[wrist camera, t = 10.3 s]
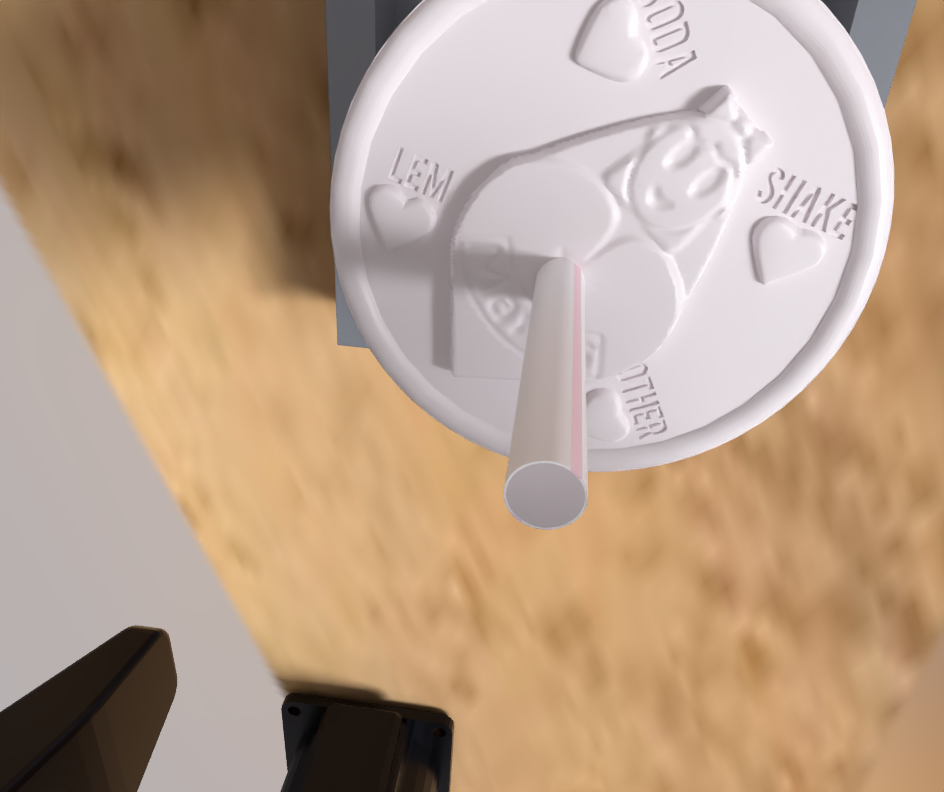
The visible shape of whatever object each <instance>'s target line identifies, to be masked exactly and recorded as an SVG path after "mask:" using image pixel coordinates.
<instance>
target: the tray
mask: <svg viewBox="0 0 944 792" xmlns="http://www.w3.org/2000/svg"><path fill="white" fill-rule="evenodd" d="M422 1H423V0H325V8H326V36H327V64H328V92H329V120H330V148H331V176H332V172H333V166H334V159H335V154H336V150H337V146H338V142H339V138H340V134H341V130H342V127H343V124H344V121H345V118H346V116H347V113H348V110H349V107H350V105H351V102H352V100H353V98H354V96H355V94H356V91H357V89H358V87H359V85H360V83H361V81H362V79H363V77H364V75H365V73H366V72H367V70H368V68H369V67H370V65H371V64H372V62H373V60H374V59H375V57H376V55H377V54H378V52H379V51H380V49H381V48H382V47H383V45H384V44H385V43H386V41H387V40H388V39H389V37H390V36H391V35H392V33H393V32H394V31H395V29H396V28H397V27H398V26H399V25H400V24H401V22H402V21H403V20H404V19H405V18H406V17H407V16H408V15H409V14H410V13H411V12H412V11H413V10H414V8H415V7H416V6H417V5H418V4H419V3H421V2H422ZM821 1H822V2H823V3H824V4H825V5H826V6H827V7H828V9H829V10H830V11H831V12H832V13H833V15H834V16H835V17H836V18H837V20H838V21H839V22H840V23H841V24H842V26H843V27H844V28H845V29H846V31H847V33H848V34H849V36H850V37H851V39H852V40H853V42H854V44H855V45H856V47H857V48H858V50H859V51H860V53H861V55H862V57H863V59H864V61H865V63H866V65H867V67H868V69H869V71H870V73H871V75H872V77H873V79H874V81H875V84H876V87H877V90H878V93H879V96H880V99H881V102H882V104H883V107H884V108H885V104H886V101H887V98H888V94H889V91H890V88H891V84H892V81H893V78H894V74H895V71H896V68H897V64H898V61H899V58H900V54H901V51H902V48H903V44H904V41H905V38H906V34H907V31H908V28H909V24H910V21H911V18H912V14H913V11H914V8H915V4H916V1H917V0H821ZM335 288H336V316H337V344H338V345H343V346H352V347H362V348H369V347H368V345H367V344H366V342H365V340H364V338H363V336H362V335H361V333H360V331H359V329H358V328H357V325H356V323H355V321H354V319H353V316H352V314H351V312H350V310H349V308H348V305H347V302H346V299H345V296H344V293H343V290H342V287H341V284H340V281H339V277H338V272H337V268H336V264H335Z"/></svg>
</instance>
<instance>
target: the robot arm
mask: <svg viewBox="0 0 944 792" xmlns="http://www.w3.org/2000/svg"><path fill="white" fill-rule="evenodd" d="M176 687H177V674H176V669H175V663H174V658H173V653H172V648H171V642H170V638H169V635H168V633H167V632H166V631H165V630H163V629H159V628H152V627H144V626H131V627H128V628H126V629H124V630H123V631H121V632H120V633H118V634H117V635H115V636H114V637H112V638H111V639H109V640H108V641H106V642H105V643H103V644H102V645H100V646H99V647H98V648H96V649H94V650H93V651H91V652H90V653H88V654H87V655H85V656H84V657H82V658H81V659H79V660H78V661H76V662H75V663H73V664H72V665H70V666H69V667H67V668H66V669H64V670H63V671H61V672H60V673H58V674H57V675H55V676H54V677H52V678H51V679H49V680H48V681H46V682H45V683H43V684H42V685H40V686H39V687H37V688H36V689H34V690H33V691H31V692H30V693H28V694H27V695H25V696H24V697H22V698H21V699H19V700H18V701H16V702H15V703H13V704H12V705H11V706H9V707H7V708H6V709H4V710H3V711H1V712H0V792H137V790H138V788H139V785H140V783H141V780H142V778H143V775H144V773H145V770H146V768H147V765H148V762H149V760H150V758H151V755H152V752H153V750H154V747H155V745H156V742H157V740H158V737H159V735H160V732H161V730H162V727H163V725H164V722H165V720H166V717H167V714H168V712H169V710H170V707H171V704H172V702H173V699H174V696H175V693H176ZM281 710H282V720H283V730H284V740H285V750H286V760H287V769H288V773H287V776H286V778H285V781H284V784H283V787H282V789H281V792H450V783H451V767H452V752H453V736H454V722H453V720H452V719H451V718H450V717H448V716H447V715H443V714H438V713H431V712H424V711H417V710H410V709H403V708H396V707H389V706H382V705H375V704H368V703H361V702H355V701H348V700H341V699H334V698H327V697H320V696H313V695H306V694H299V693H291V694H288V695H287V696H286V698H285V700H284V702H283V705H282V709H281Z"/></svg>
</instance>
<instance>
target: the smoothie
mask: <svg viewBox="0 0 944 792" xmlns="http://www.w3.org/2000/svg"><path fill="white" fill-rule="evenodd" d="M893 202H894V163H893V154H892V144H891V137H890V133H889V128H888V124H887V119H886V115H885V110H884V107H883V104H882V102H881V99H880V96H879V93H878V90H877V87H876V84H875V81H874V79H873V77H872V75H871V73H870V71H869V69H868V67H867V65H866V63H865V61H864V59H863V57H862V55H861V53H860V51H859V50H858V48H857V47H856V45H855V44H854V42H853V40H852V39H851V37H850V36H849V34H848V33H847V31H846V29H845V28H844V27H843V26H842V24H841V23H840V22H839V21H838V20H837V18H836V17H835V16H834V15H833V13H832V12H831V11H830V10H829V9H828V7H827V6H826V5H825V4H824V3H823V2H822V1H821V0H423V1H422V2H421V3H419V4H418V5H417V6H416V7H415V8H414V10H413V11H412V12H411V13H410V14H409V15H408V16H407V17H406V18H405V19H404V20H403V21H402V22H401V24H400V25H399V26H398V27H397V28H396V29H395V31H394V32H393V33H392V35H391V36H390V37H389V39H388V40H387V41H386V43H385V44H384V45H383V47H382V48H381V49H380V51H379V52H378V54H377V55H376V57H375V59H374V60H373V62H372V64H371V65H370V67H369V68H368V70H367V72H366V73H365V75H364V77H363V79H362V81H361V83H360V85H359V87H358V89H357V91H356V94H355V96H354V98H353V100H352V102H351V105H350V107H349V110H348V113H347V116H346V118H345V121H344V124H343V127H342V130H341V134H340V138H339V142H338V146H337V150H336V154H335V159H334V166H333V172H332V179H331V192H330V228H331V239H332V246H333V253H334V260H335V264H336V268H337V272H338V277H339V281H340V284H341V287H342V290H343V293H344V296H345V299H346V302H347V305H348V308H349V310H350V312H351V314H352V316H353V319H354V321H355V323H356V325H357V328H358V329H359V331H360V333H361V335H362V336H363V338H364V340H365V342H366V344H367V345H368V347H369V349H370V350H371V352H372V353H373V355H374V356H375V357H376V359H377V360H378V362H379V363H380V365H381V366H382V368H383V369H384V370H385V371H386V372H387V374H388V375H389V376H390V377H391V378H392V380H393V381H394V382H395V383H396V384H397V386H398V387H399V388H400V389H401V390H402V391H403V392H404V393H405V394H406V395H407V396H408V397H409V398H410V399H411V400H412V401H413V402H415V403H416V404H417V405H418V406H419V407H421V408H422V409H423V410H424V411H425V412H427V413H428V414H429V415H430V416H431V417H433V418H434V419H436V420H437V421H438V422H440V423H441V424H443V425H444V426H446V427H447V428H448V429H450V430H452V431H453V432H455V433H457V434H459V435H460V436H462V437H464V438H465V439H467V440H469V441H471V442H473V443H475V444H477V445H479V446H482V447H484V448H486V449H488V450H490V451H493V452H495V453H498V454H501V455H504V456H506V457H509V460H508V466H507V473H506V480H505V486H504V501H505V504H506V507H507V508H508V510H509V511H510V513H511V514H512V515H513V516H514V517H515V518H516V519H517V520H519V521H520V522H521V523H523V524H525V525H527V526H530V527H533V528H537V529H543V530H552V529H558V528H562V527H565V526H567V525H569V524H571V523H573V522H574V521H576V520H577V519H578V518H579V517H580V516H581V515H582V513H583V512H584V510H585V508H586V506H587V501H588V477H587V472H611V471H627V470H634V469H642V468H649V467H654V466H658V465H663V464H667V463H672V462H675V461H679V460H682V459H685V458H688V457H692V456H695V455H698V454H700V453H703V452H705V451H708V450H710V449H713V448H715V447H718V446H720V445H722V444H724V443H726V442H728V441H730V440H732V439H734V438H736V437H738V436H740V435H742V434H743V433H745V432H747V431H748V430H750V429H752V428H753V427H755V426H757V425H758V424H760V423H762V422H763V421H765V420H766V419H767V418H769V417H770V416H771V415H773V414H774V413H776V412H777V411H778V410H780V409H781V408H783V407H784V406H785V405H786V404H787V403H788V402H790V401H791V400H792V399H793V398H794V397H795V396H797V395H798V394H799V393H800V392H801V391H802V390H803V389H804V388H805V387H806V386H807V385H808V384H809V383H810V382H811V381H812V380H813V379H814V378H815V377H816V376H817V375H818V374H819V373H820V372H821V371H822V369H823V368H824V367H825V366H826V365H827V363H828V362H829V361H830V360H831V358H832V357H833V356H834V355H835V354H836V352H837V351H838V350H839V348H840V347H841V345H842V344H843V342H844V341H845V339H846V338H847V336H848V335H849V333H850V332H851V330H852V329H853V327H854V325H855V323H856V322H857V320H858V318H859V316H860V314H861V312H862V311H863V309H864V307H865V305H866V303H867V301H868V298H869V296H870V294H871V291H872V289H873V287H874V284H875V282H876V280H877V277H878V274H879V270H880V267H881V264H882V261H883V258H884V255H885V251H886V246H887V242H888V237H889V232H890V228H891V220H892V211H893Z"/></svg>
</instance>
